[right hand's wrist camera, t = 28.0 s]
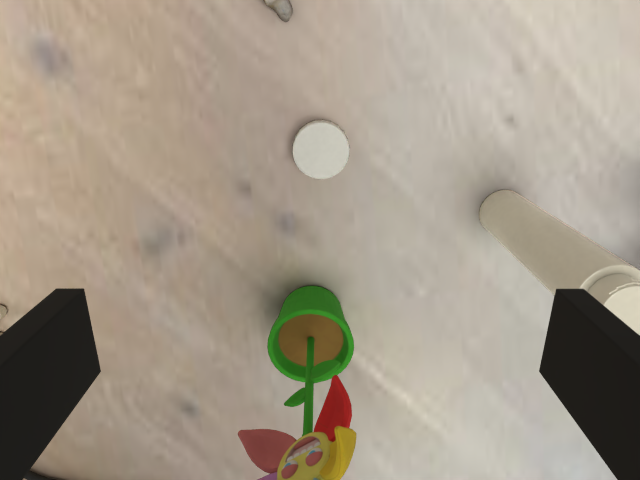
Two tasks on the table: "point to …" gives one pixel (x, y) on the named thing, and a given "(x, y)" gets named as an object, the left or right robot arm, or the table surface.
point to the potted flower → (309, 390)
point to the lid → (320, 149)
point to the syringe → (281, 8)
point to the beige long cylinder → (562, 254)
